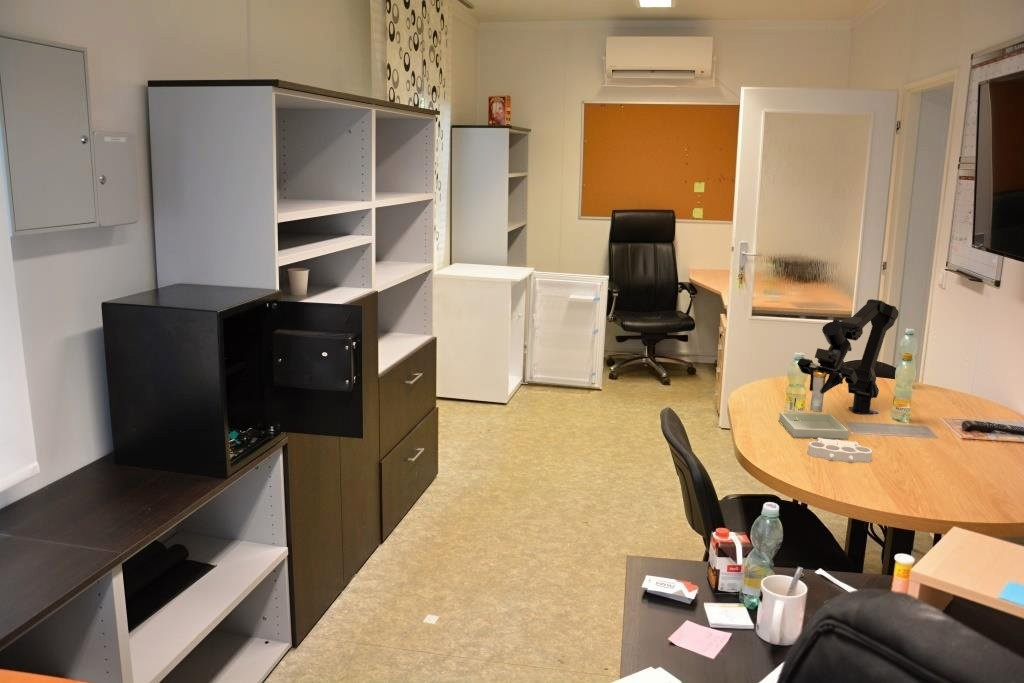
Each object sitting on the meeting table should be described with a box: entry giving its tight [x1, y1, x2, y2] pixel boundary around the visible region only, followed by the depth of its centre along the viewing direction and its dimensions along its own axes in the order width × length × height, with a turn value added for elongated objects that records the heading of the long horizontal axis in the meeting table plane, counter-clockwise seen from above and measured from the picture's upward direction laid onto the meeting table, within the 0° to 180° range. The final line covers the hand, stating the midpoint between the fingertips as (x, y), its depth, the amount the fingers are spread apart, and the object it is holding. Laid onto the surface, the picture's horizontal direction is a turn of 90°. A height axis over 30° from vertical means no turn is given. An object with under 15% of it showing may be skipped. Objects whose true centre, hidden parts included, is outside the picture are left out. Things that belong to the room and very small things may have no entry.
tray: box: [778, 411, 850, 440], centre depth 267 cm, size 17×17×3 cm
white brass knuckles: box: [807, 438, 873, 463], centre depth 245 cm, size 3×18×15 cm
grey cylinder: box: [809, 370, 827, 413], centre depth 264 cm, size 4×4×13 cm
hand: (816, 391), depth 263 cm, fingers closed on grey cylinder, 4 cm apart
